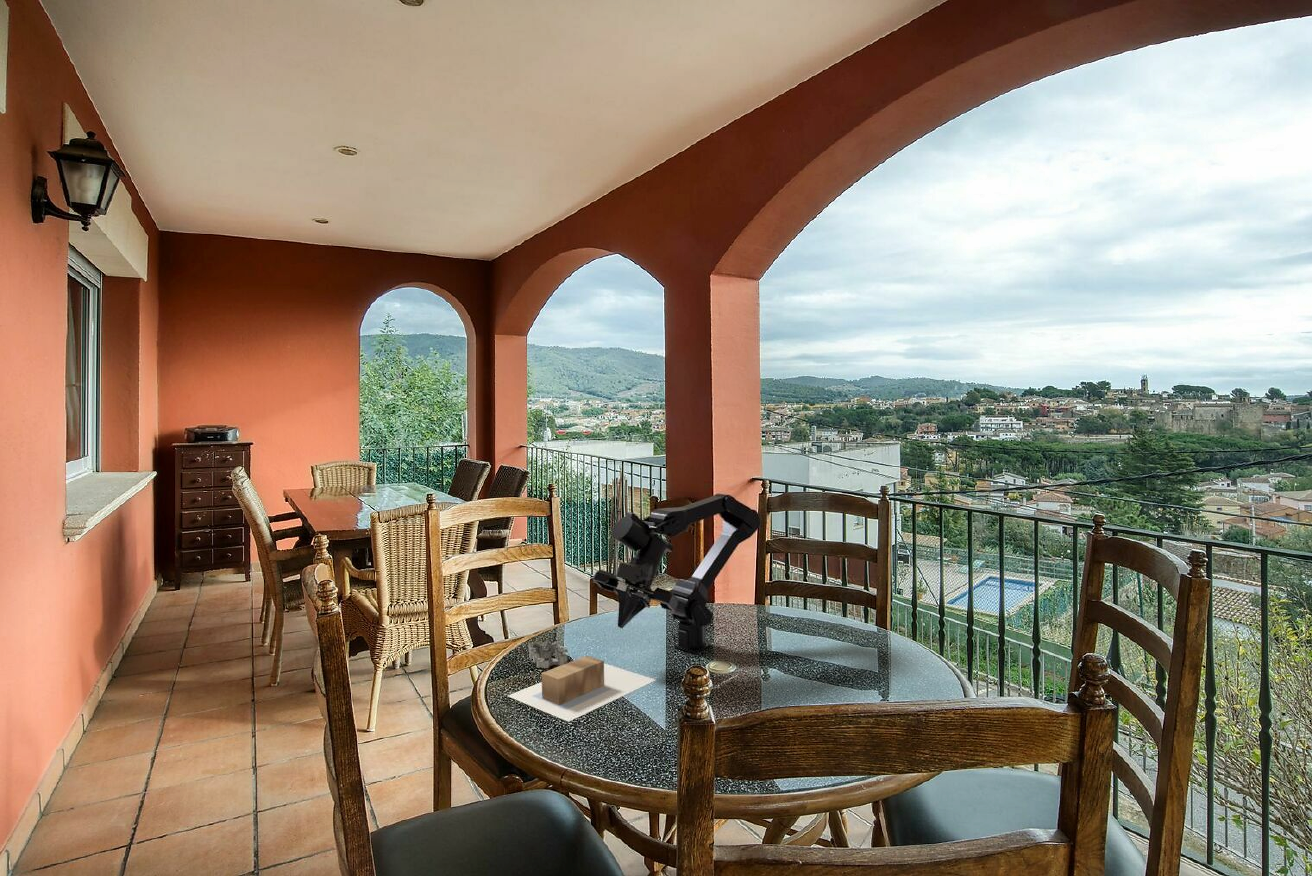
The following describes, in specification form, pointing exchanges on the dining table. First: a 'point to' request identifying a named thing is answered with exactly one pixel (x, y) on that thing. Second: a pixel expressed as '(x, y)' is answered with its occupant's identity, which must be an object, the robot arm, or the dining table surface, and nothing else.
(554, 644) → the egg carton
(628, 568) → the robot arm
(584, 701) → the mat
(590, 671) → the oak block
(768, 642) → the dining table surface
